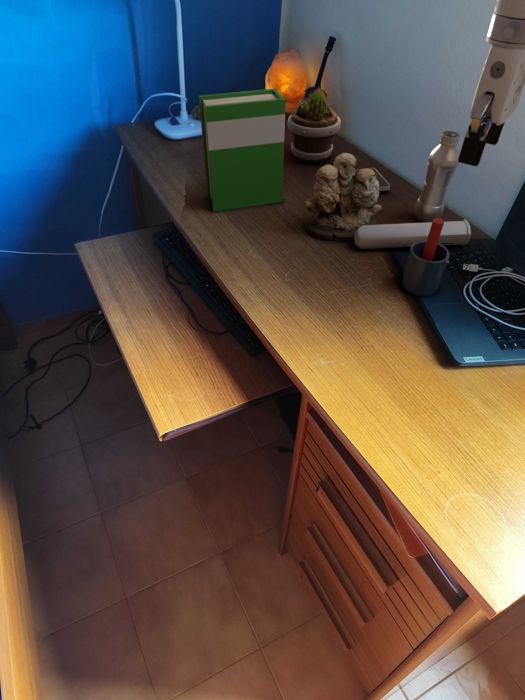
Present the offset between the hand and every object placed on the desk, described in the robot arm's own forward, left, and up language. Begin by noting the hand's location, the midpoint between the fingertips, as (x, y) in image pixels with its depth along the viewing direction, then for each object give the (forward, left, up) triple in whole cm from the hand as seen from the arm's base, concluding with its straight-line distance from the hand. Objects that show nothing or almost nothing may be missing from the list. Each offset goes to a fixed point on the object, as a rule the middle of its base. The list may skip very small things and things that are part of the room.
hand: (477, 152), depth 77 cm
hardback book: (+52, -3, -27) cm, 58 cm away
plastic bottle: (+11, -22, -27) cm, 36 cm away
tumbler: (+2, +3, -26) cm, 27 cm away
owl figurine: (+26, -6, -27) cm, 38 cm away
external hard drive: (+30, -29, -27) cm, 49 cm away
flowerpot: (+52, -35, -27) cm, 68 cm away
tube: (+10, -9, -27) cm, 30 cm away
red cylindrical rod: (+2, +3, -26) cm, 26 cm away
